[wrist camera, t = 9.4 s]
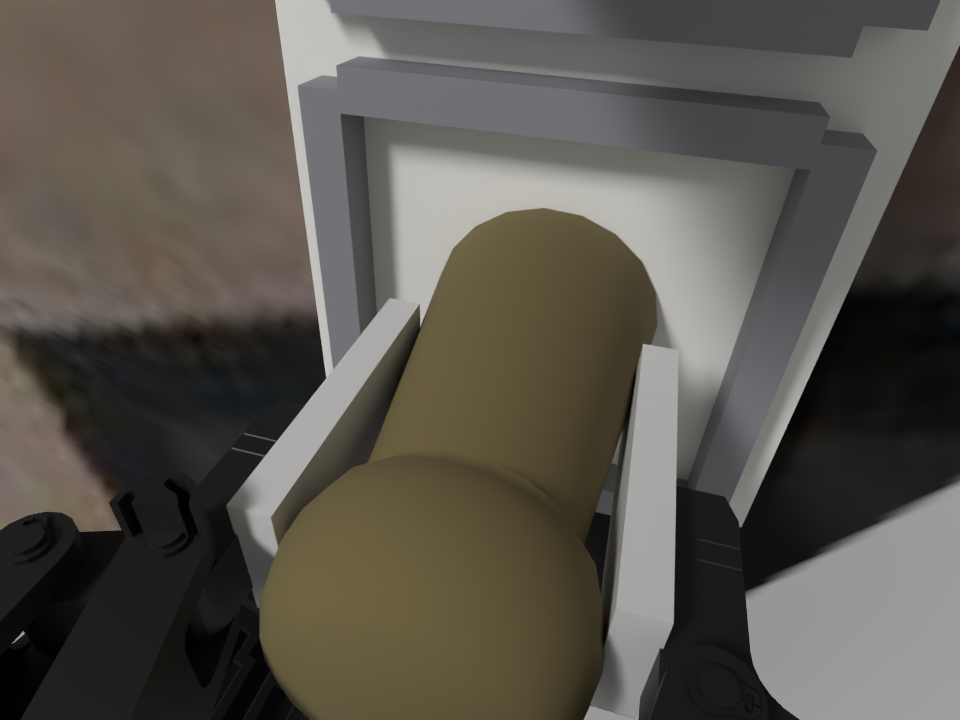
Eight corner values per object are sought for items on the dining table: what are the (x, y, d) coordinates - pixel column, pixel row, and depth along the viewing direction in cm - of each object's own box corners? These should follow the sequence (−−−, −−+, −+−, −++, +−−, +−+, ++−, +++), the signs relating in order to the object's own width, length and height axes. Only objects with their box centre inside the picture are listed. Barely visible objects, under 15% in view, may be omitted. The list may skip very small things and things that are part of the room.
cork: (645, 413, 18) (607, 882, 9) (446, 388, 19) (251, 771, 11) (672, 214, 14) (653, 664, 6) (427, 202, 16) (114, 543, 7)
